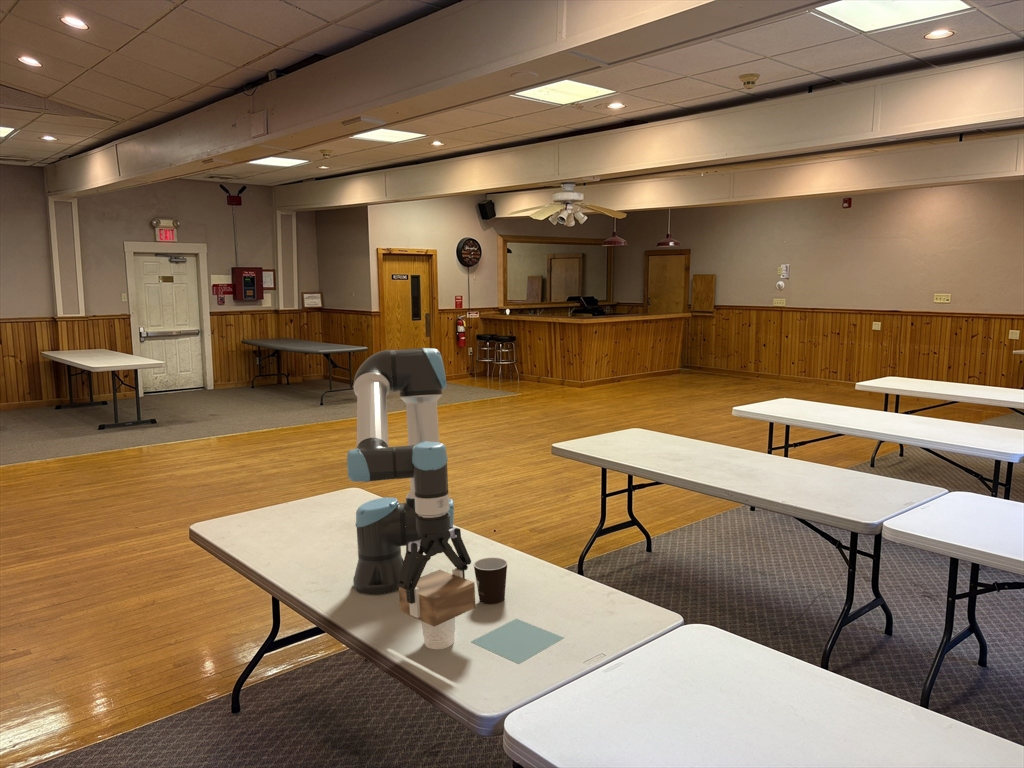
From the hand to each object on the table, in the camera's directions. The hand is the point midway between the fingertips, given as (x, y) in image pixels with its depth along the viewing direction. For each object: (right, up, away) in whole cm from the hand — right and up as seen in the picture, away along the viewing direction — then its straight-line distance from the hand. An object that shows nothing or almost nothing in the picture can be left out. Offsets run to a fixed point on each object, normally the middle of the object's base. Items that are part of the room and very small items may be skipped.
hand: (437, 606), depth 158 cm
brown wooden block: (0, -1, 0) cm, 1 cm away
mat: (+18, -8, +1) cm, 20 cm away
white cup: (0, -9, +1) cm, 9 cm away
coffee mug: (+12, -6, +25) cm, 28 cm away
